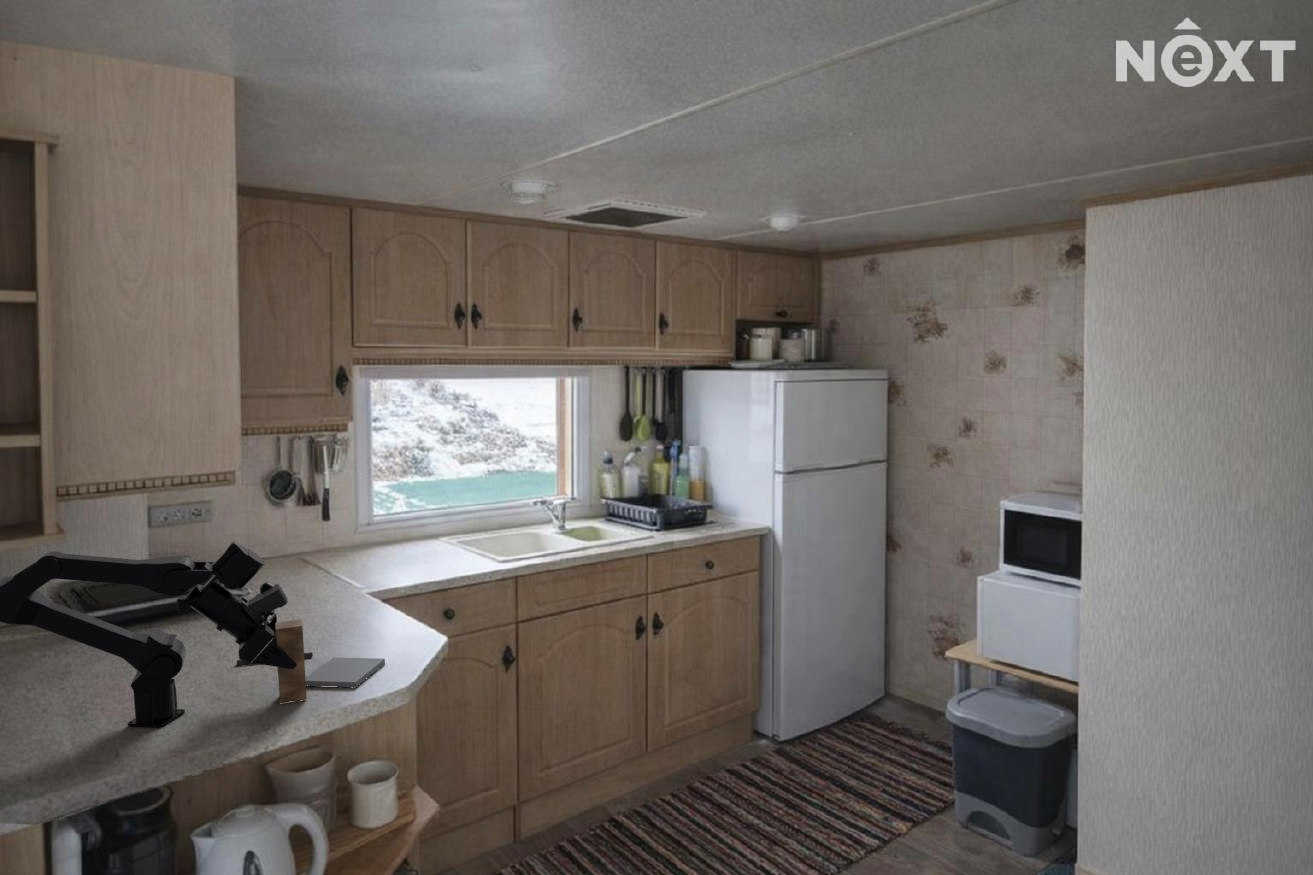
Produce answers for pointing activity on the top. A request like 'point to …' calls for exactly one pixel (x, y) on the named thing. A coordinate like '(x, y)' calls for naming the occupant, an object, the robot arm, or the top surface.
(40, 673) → the top surface
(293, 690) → the walnut block
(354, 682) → the far plate
